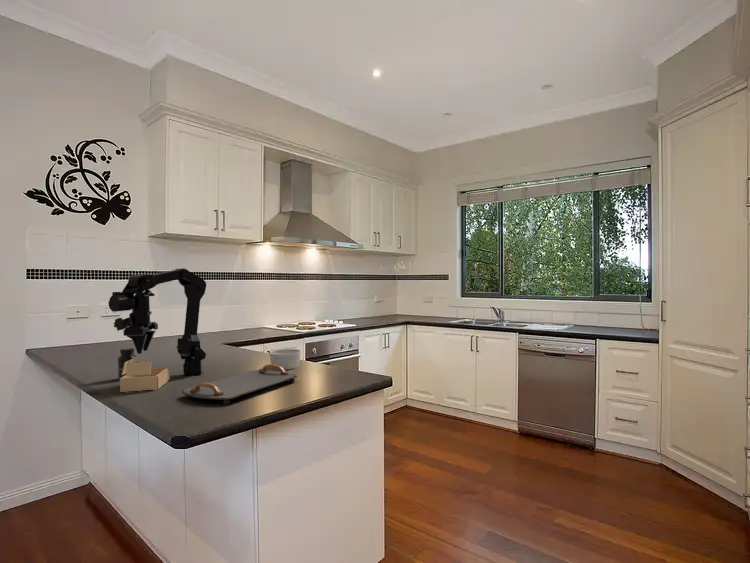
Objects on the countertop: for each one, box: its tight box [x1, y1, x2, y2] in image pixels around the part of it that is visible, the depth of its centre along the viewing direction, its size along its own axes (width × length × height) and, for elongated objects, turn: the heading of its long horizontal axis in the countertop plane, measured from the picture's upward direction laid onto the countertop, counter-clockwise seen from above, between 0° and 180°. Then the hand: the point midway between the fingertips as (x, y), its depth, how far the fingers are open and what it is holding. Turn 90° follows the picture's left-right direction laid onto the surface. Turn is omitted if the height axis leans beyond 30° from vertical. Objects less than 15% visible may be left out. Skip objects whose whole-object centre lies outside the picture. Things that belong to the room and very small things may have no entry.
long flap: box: [122, 357, 138, 375], centre depth 163 cm, size 1×12×4 cm, turn 12°
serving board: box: [182, 363, 298, 406], centre depth 156 cm, size 39×23×6 cm, turn 150°
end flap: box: [126, 361, 152, 376], centre depth 157 cm, size 8×1×4 cm, turn 101°
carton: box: [119, 366, 171, 393], centre depth 165 cm, size 12×16×5 cm
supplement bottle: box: [117, 347, 138, 381], centre depth 178 cm, size 7×7×12 cm
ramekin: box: [269, 348, 302, 371], centre depth 192 cm, size 13×13×7 cm
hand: (142, 352), depth 162 cm, fingers open, 6 cm apart
